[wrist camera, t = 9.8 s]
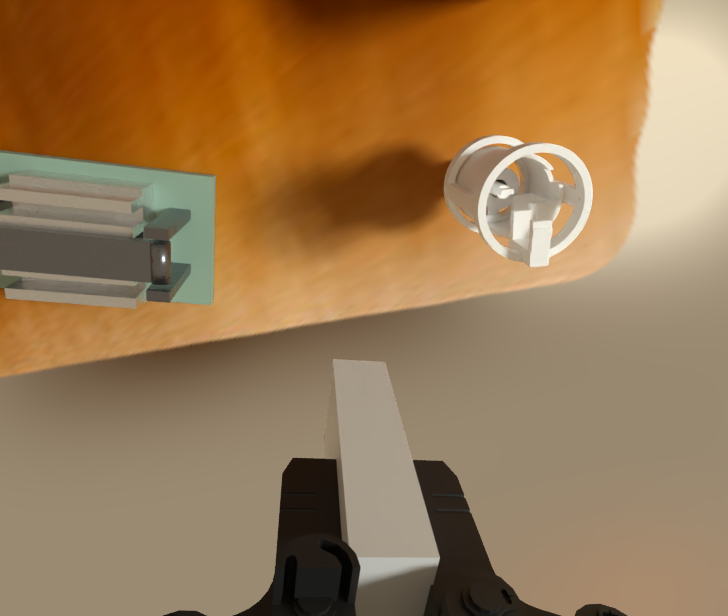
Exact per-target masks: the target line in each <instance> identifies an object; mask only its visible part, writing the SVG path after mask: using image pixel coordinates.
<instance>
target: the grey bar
mask: <svg viewBox="0 0 728 616" xmlns="http://www.w3.org/2000/svg"><path fill="white" fill-rule="evenodd" d="M0 270H11V271H22V272H33V273H44V274H55V275H67V276H78V277H89V278H100V279H112V280H123V281H134V282H145V283H152V284H154V285H168V284H170V283H171V242H170V241H164V240H151V239H141V238H131V237H121V236H111V235H101V234H91V233H81V232H71V231H61V230H51V229H41V228H31V227H21V226H11V225H1V224H0Z"/></svg>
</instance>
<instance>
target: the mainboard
mask: <svg viewBox="0 0 728 616" xmlns="http://www.w3.org/2000/svg"><path fill="white" fill-rule="evenodd" d="M30 169H32V170H41V171H49V172H58V173H67V174H76V175H85V176H94V177H103V178H112V179H121V180H129V181H138V182H147V183H154V199H155V218H157V217H158V216H160V215H161V214H162V213H164V212H165V211H166V210H168V209H169V208H178V209H187V210H191V220H190V221H189V222H188V223H187V224H186V225H185V226H184V227H183V228H182V229H180V230H179V231H178V232H177V233H176V234H175V235H174V236H173V237H172V238H171V239H170V240H169V241H170V242H171V262H175V263H186V264H191V274H190V275H189V276H188V278H187V279H186V281H185V282H184V283H183V285H182V286H181V287H180V289H179V290H178V292H177V293H176V294H175V296H174V297H173V299H172V300H171V301H170V302H180V303H193V304H205V305H211V304H212V302H213V300H214V245H215V187H216V175H210V174H202V173H193V172H184V171H176V170H167V169H159V168H150V167H141V166H133V165H124V164H116V163H107V162H99V161H90V160H81V159H73V158H64V157H56V156H47V155H39V154H30V153H21V152H13V151H4V150H0V184H3V183H7V182H9V174H13V173H18V172H22V171H26V170H30ZM11 207H13V204H12V201H4V202H1V203H0V211H3V210H6V209H9V208H11ZM20 278H22V277H21V276H9V275H2V270H0V288H5V287H7V286H9V285H10V284H12V283H14V282H15V281H17V280H19V279H20Z"/></svg>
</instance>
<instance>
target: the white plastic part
mask: <svg viewBox="0 0 728 616" xmlns="http://www.w3.org/2000/svg"><path fill="white" fill-rule="evenodd" d="M494 143H504V144H507V145H509V146H511V147H512V148H510V149H508V148H504V147H500V146H488V147H483V146H486V145H489V144H494ZM481 147H483V148H481ZM479 148H481V149H479ZM477 149H478V150H477ZM540 152H546V153H550V154H553V155H555V156H557V157H558V158H560V159H561V160H562V161H563V162H564V163H565V164H566V165H567V166H568V168H569V169H570V171H571V173H572V175H573V178H574V181H575V186H574V185H571V184H568V183H565V182H561V181H558V180H555V179H553V176H552V173H551V171H550V170H554V169H553V167H552V166H551V165H550V164H549V163H548V162H547V161H546V160H545V159H543V158H542V157H540V156H537V155H534V153H540ZM512 162H515V164H516V166H517V168H518V170H519V174H520V187H519V180H518V177H517V175H516V174H515V173H514V172H513V171H512V170H511V169H509V168H506V167H507V166H508V165H510V164H511V163H512ZM444 197H445V201H446V204H447V207H448V209H449V211H450V212H451V214H452V215H453V216H454V218H455V219H456V220H457V221H459V222H460V223H461V224H462V225H464V226H465V227H466V228H468V229H470V230H472V231H475V232H478V233H479V235H480V236H481V238H482V239H483V240H484V241H485V243H486V244H487V245H489V246H490V247H491V248H492V249H493V250H495V251H496V252H497V253H499V254H500V255H502V256H504V257H506V258H508V259H511V260H514V261H520V262H524V263H525V264H527V265H528V266H529V267H539V266H546V265H549V257H551V256H553V255H555V254H557V253H559V252H560V251H562V250H563V249H564V248H566V247H567V246H568V245H569V244H570V243H571V242H572V241H573V240H574V239H575V238H576V237H577V236H578V234H579V233H580V232H581V230H582V229H583V227H584V225H585V223H586V221H587V219H588V216H589V213H590V210H591V206H592V199H593V188H592V182H591V178H590V175H589V172H588V170H587V168H586V166H585V165H584V163H583V162H582V160H581V159H580V158H579V157H578V156H577V155H576V154H574V153H573V152H572V151H570V150H568V149H566V148H564V147H562V146H559V145H555V144H549V143H543V142H530V143H523V142H521V141H519V140H517V139H515V138H512V137H507V136H501V135H488V136H483V137H480V138H477V139H475V140H473V141H471V142H469V143H468V144H466V145H465V146H464V147H463V148H462V149H460V150H459V152H458V153H457V154H456V155H455V156H454V158H453V159H452V161H451V163H450V164H449V167H448V169H447V172H446V175H445V179H444ZM562 202H564V203H566V204H569V205H571V206H574V209H573V212H572V214H571V216H570V218H569V220H568V222H567V223H566V225H565V226H564V228H563V229H562V230H561V231H560V232H559V233H558V234H557V235H556V236H555V237H554V238H553V239H551V236H552V228H553V227H552V222H553V221H554V219H555V218H556V216H557V214H558V212H559V210H560V208H561V205H562ZM456 204H457V205H458V206H459V207H460V209H461V210H462V211H463V212H464V213H465V214H466V215H468V216H469V217H470V218H472V219H473V220H474V222H471V221H469V220H467V219H466V218H465V217H464V216H463V215H462V214H461V212H460V211H459V209H458V207H457V205H456ZM507 206H508V207H507ZM506 207H507V208H506ZM503 208H506V209H505V210H503V211H501V212H499V209H503ZM492 234H495V235H498V236H501V237H509V248H508V247H505V246H503V245H501V244H499V243H498V242H497V241H496V239H495V238H494V237H493V235H492Z"/></svg>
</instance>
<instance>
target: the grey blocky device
mask: <svg viewBox="0 0 728 616" xmlns="http://www.w3.org/2000/svg"><path fill="white" fill-rule="evenodd" d="M4 201H12V204H13V207H11V208H9V209H6V210H3V211H0V224H1V225H11V226H21V227H31V228H41V229H51V230H61V231H71V232H81V233H91V234H101V235H111V236H121V237H131V238H141V239H151V240H164V241H169V240H170V239H171V238H172V237H173V236H174V235H175V234H176V233H177V232H178V231H179V230H180V229H182V228H183V227H184V226H185V225H186V224H187V223H188V222H189V221H190V220H191V210H187V209H178V208H169V209H168V210H166V211H165V212H164V213H162V214H161V215H160V216H158V217H157V218H155V199H154V183H147V182H138V181H129V180H121V179H112V178H103V177H94V176H85V175H76V174H67V173H58V172H49V171H41V170H32V169H30V170H26V171H22V172H18V173H13V174H9V182H7V183H3V184H0V203H1V202H4ZM190 274H191V264H186V263H175V262H171V283H170V284H168V285H154V284H152V283H145V282H134V281H123V280H112V279H100V278H89V277H78V276H67V275H55V274H44V273H33V272H22V271H11V270H2V275H9V276H21V277H22V278H20V279H19V280H17V281H15V282H14V283H12V284H10V285H9V286H7V287H5V288H4V289H5V296H6V298H7V299H20V300H33V301H46V302H58V303H71V304H84V305H97V306H109V307H122V308H135V309H136V308H137V307H138V306H139V305H140V303H141V302H142V303H147V301H155V302H168V303H170V301H171V300H172V299H173V297H174V296H175V294H176V293H177V292H178V290H179V289H180V287H181V286H182V285H183V283H184V282H185V281H186V279H187V278H188V276H189V275H190Z"/></svg>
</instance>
